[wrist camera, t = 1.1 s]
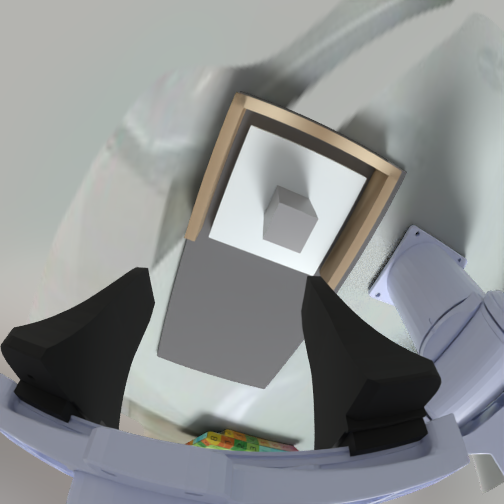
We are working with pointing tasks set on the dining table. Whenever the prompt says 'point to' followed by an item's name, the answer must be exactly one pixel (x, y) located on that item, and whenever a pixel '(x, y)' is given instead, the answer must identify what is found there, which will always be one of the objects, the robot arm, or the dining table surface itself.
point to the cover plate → (293, 175)
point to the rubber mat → (247, 283)
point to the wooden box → (384, 171)
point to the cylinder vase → (487, 471)
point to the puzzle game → (238, 442)
